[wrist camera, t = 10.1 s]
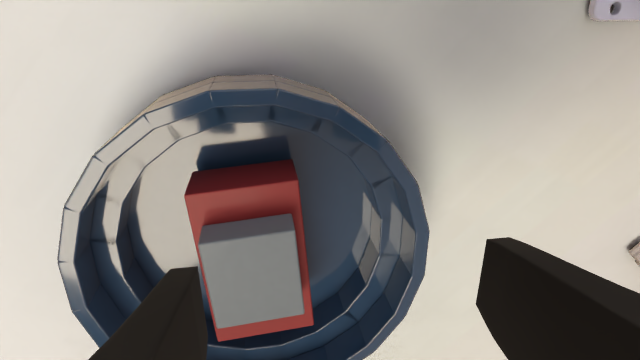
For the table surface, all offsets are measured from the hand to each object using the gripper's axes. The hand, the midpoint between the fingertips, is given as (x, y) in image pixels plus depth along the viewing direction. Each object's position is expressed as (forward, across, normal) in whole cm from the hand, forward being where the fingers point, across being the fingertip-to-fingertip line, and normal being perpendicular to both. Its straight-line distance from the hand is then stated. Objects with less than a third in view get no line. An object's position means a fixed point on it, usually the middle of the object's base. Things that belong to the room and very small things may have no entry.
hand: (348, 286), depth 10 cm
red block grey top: (+9, +2, +3) cm, 10 cm away
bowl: (+10, +2, +3) cm, 10 cm away
